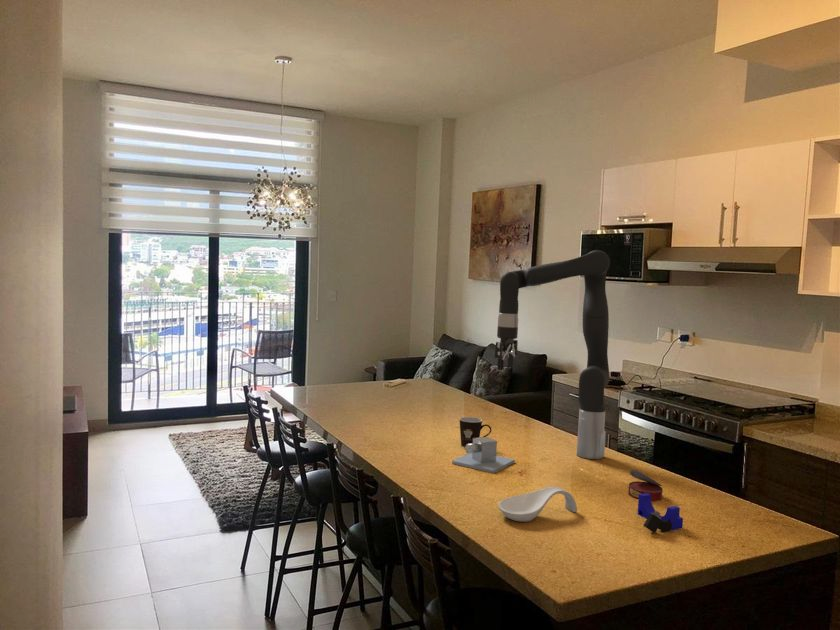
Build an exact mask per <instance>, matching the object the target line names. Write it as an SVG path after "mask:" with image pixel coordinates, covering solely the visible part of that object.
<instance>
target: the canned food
mask: <svg viewBox="0 0 840 630" xmlns="http://www.w3.org/2000/svg"><path fill="white" fill-rule="evenodd" d="M629 474H630V475H631V477H633V478H635V479H637V480H639V481H631V482H629V483H628V492H627V494H628V496H629V497H631V498H633V499H635V500H639V494H645V493H648V494H650V495H651V502H660V501H661V500H662V499H663V490H664V489H663V485H662V484H661V483H659V482H658V481H656V480H655V479H652V478H651V477H650V476H648V475H646V474H645V473H643V472H641V471H639V470H637V469H630V470H629Z"/></svg>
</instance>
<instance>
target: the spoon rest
mask: <svg viewBox="0 0 840 630" xmlns="http://www.w3.org/2000/svg"><path fill="white" fill-rule="evenodd" d="M558 494H561V495H563V496H564V501H565V502H564V504H565V505H564V507H565V508H566V509H567V510H569V511H570V512H572V513H577V512H578V508H577V502H576V500H575V498H574V496H573V495H572V494H571V493H570V492H569V491H567V490H565V489H563V488H560V487H558V486H548V487H544V488H541V489H537V490H534V491H531V492H527V493H522V494H518V495H514V496H509V497H506V498H503V499H502V500H500V501H499V502H498V505H497V506H498V510H499V511H500V512H501V513H502V514H503V516H505V517H506V518H507V519H510V520H513V521H515V522H519V523H520V522H522V523H523V522H531V521H533V520H534V519H535V518H536V517H538V515H539V514H541V512H542V511H543V509H544V508H545V507H546V505H547V504H548V502H549V501H550V500H551V498H553V497H554V496H556V495H558Z"/></svg>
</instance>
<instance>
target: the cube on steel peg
mask: <svg viewBox="0 0 840 630" xmlns="http://www.w3.org/2000/svg"><path fill="white" fill-rule="evenodd" d="M497 446H498V441H497V440H496V439H494V438H491V437H489V436H486V437H483V436H482V437H479V438H473V444H466V446H465V447H464V449H465V452H466V454H469V453H472V459H474V460H476V461H478V462H480V463H489V462H496V456H497V449H498V448H497Z"/></svg>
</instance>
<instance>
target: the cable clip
mask: <svg viewBox="0 0 840 630" xmlns="http://www.w3.org/2000/svg"><path fill="white" fill-rule="evenodd" d="M637 500H638V499H637ZM652 502H653V501H651V495H650V494H648V493H645V494H639V500H638V502H637V515H638V516H639V517H642V518H644V519H646V520H647V518H648V516H649V514H650V513H653V514H654V512H655V511H656V509H655V507H654V506H653V505H654V504H653V503H652ZM680 510H681V509H680V507H679V506H677V505H672V506H666V512H665V513H664V515H661V514H660V515H659V517H661V520H668V522H672V529H671V531H674V530H675V531H676V530H682V529H683V526H684V518H683V516H682V517H681V516H680Z"/></svg>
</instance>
